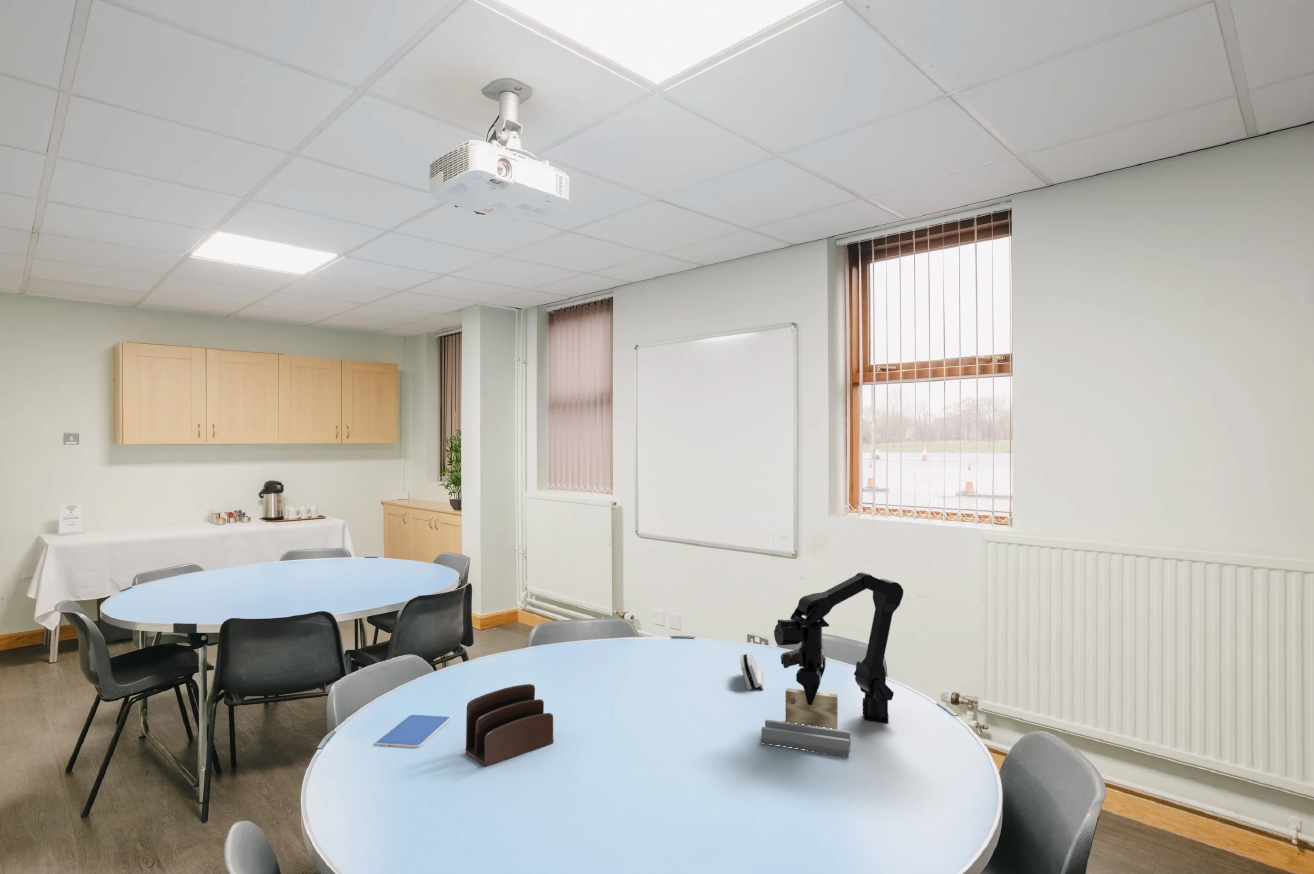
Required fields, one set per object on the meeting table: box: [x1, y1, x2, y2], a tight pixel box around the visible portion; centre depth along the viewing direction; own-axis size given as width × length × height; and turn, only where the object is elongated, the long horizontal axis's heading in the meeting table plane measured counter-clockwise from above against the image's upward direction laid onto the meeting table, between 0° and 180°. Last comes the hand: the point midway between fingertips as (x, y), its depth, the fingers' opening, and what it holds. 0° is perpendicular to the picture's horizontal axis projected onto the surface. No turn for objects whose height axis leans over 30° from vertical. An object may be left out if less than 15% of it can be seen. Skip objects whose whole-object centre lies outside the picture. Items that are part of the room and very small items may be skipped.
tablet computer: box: [374, 714, 452, 749], centre depth 176 cm, size 19×13×1 cm, turn 173°
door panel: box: [785, 687, 839, 730], centre depth 182 cm, size 14×3×9 cm, turn 70°
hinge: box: [739, 652, 765, 690], centre depth 218 cm, size 17×5×10 cm, turn 172°
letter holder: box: [465, 683, 555, 768], centre depth 166 cm, size 10×20×14 cm, turn 134°
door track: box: [760, 719, 852, 758], centre depth 170 cm, size 22×9×4 cm, turn 70°
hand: (811, 698), depth 183 cm, fingers open, 9 cm apart
